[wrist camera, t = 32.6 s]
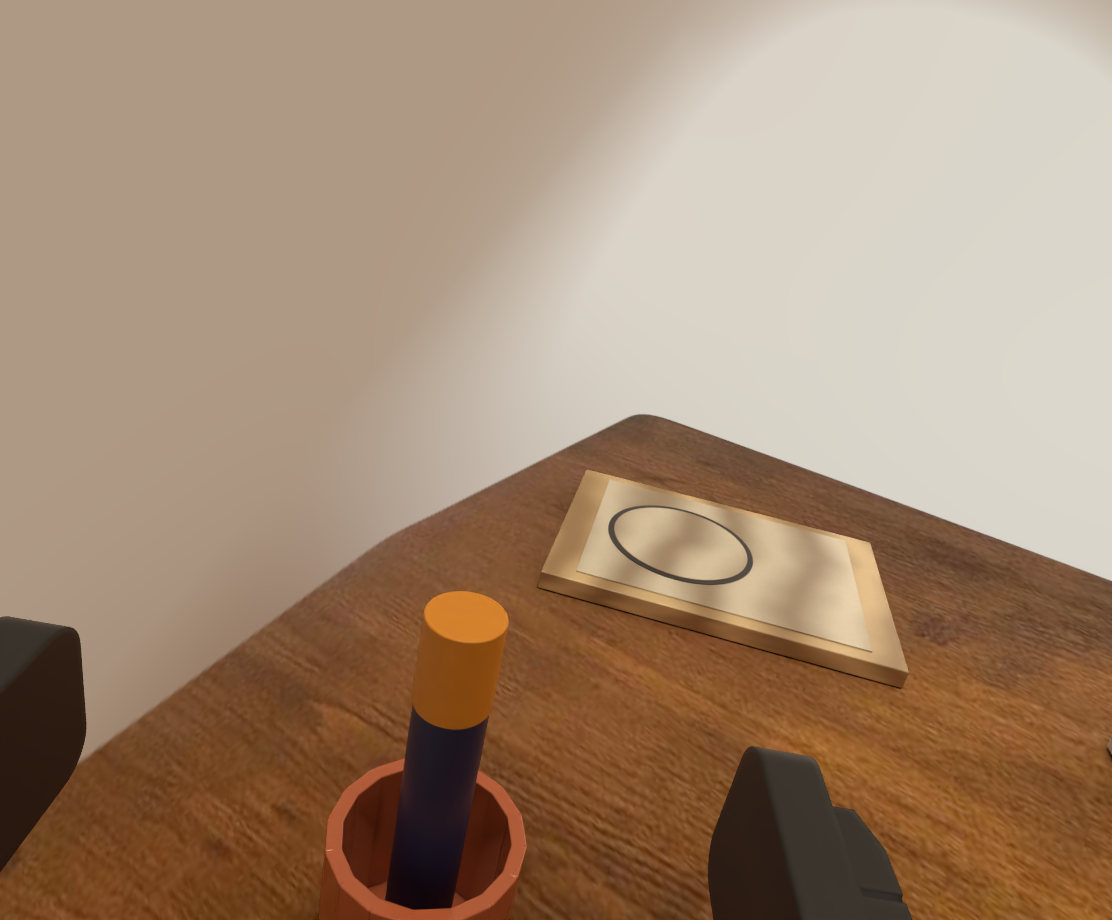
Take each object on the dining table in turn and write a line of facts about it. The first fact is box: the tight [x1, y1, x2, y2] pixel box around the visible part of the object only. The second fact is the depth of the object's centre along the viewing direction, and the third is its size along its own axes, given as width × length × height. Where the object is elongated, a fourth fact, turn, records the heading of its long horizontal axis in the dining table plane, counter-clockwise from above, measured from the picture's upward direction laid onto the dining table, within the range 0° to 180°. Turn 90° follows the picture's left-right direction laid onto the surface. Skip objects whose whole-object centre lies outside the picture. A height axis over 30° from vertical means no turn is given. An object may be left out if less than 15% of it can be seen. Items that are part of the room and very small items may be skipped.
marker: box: [385, 591, 509, 910], centre depth 25 cm, size 2×2×14 cm
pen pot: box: [318, 758, 527, 920], centre depth 27 cm, size 6×6×6 cm
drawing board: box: [538, 470, 909, 688], centre depth 56 cm, size 22×16×1 cm
